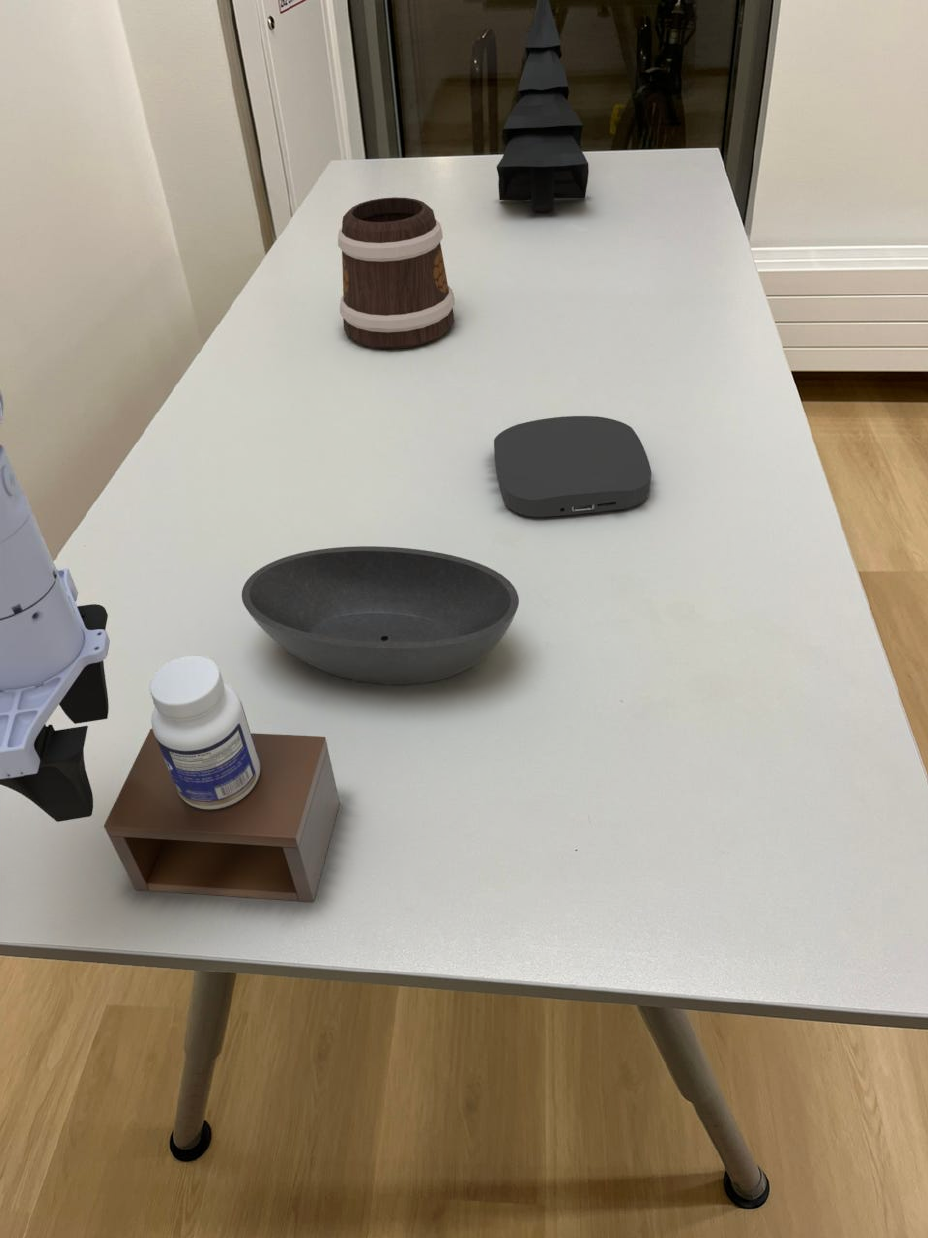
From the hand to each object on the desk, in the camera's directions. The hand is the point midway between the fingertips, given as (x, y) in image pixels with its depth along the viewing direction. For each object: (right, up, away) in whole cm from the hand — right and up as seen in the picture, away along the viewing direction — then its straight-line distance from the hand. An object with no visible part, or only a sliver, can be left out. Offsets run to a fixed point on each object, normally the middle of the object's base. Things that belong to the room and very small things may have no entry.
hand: (83, 763), depth 57 cm
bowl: (+17, +6, +21) cm, 27 cm away
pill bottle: (+7, -2, +3) cm, 8 cm away
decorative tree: (+36, +80, +105) cm, 137 cm away
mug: (+15, +49, +71) cm, 87 cm away
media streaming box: (+34, +23, +39) cm, 57 cm away
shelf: (+8, -7, +7) cm, 12 cm away
